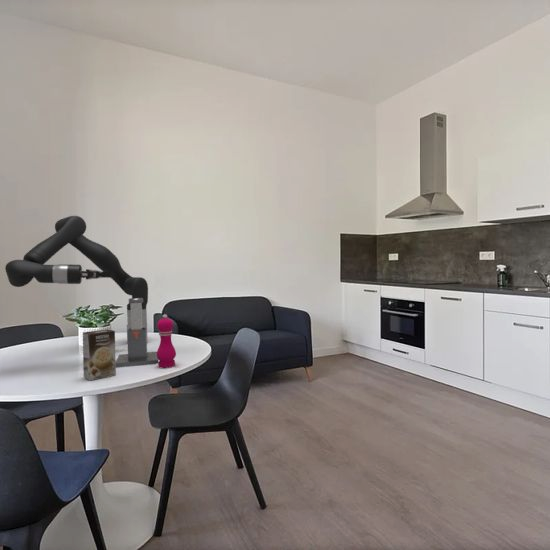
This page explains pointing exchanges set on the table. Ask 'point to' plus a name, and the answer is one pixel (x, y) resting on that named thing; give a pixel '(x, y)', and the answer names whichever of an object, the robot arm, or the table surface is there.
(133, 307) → the post
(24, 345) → the table surface
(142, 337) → the stand
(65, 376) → the table surface
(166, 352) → the pepper mill
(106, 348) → the coffee box
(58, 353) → the table surface
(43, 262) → the robot arm
